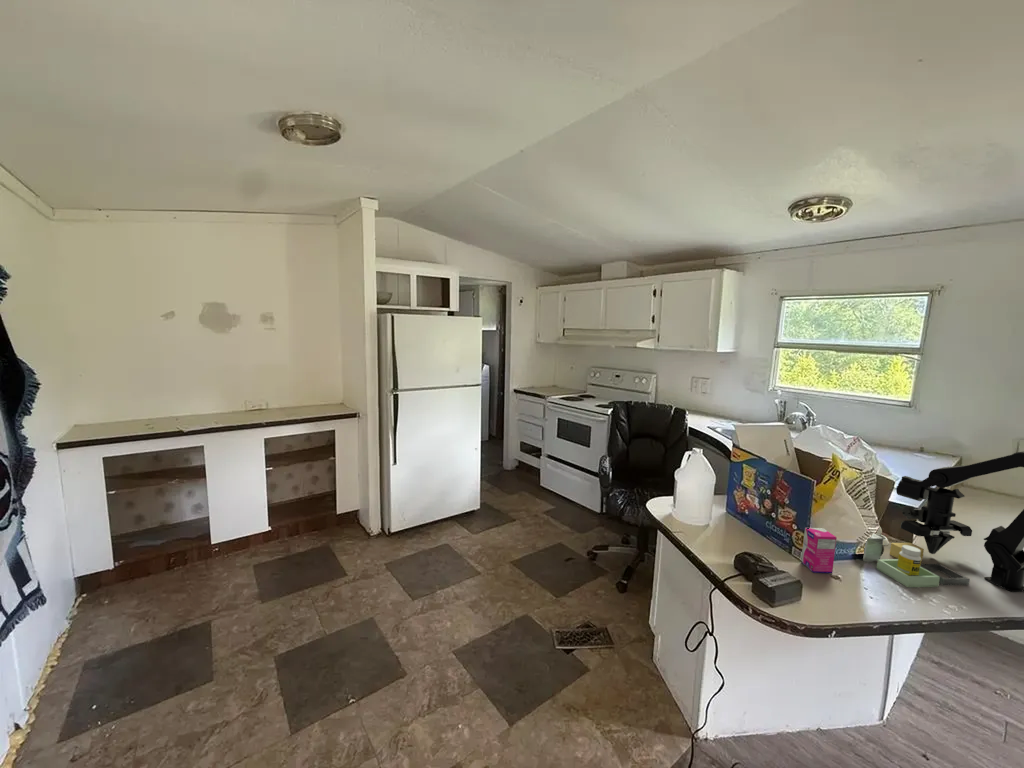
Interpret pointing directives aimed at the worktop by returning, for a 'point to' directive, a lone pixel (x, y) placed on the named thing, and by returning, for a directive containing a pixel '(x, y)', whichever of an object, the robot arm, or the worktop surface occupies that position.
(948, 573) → the pin socket
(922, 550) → the block
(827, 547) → the supplement box
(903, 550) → the supplement bottle
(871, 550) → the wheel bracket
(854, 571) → the worktop surface
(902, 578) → the tray
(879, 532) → the hook
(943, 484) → the robot arm
